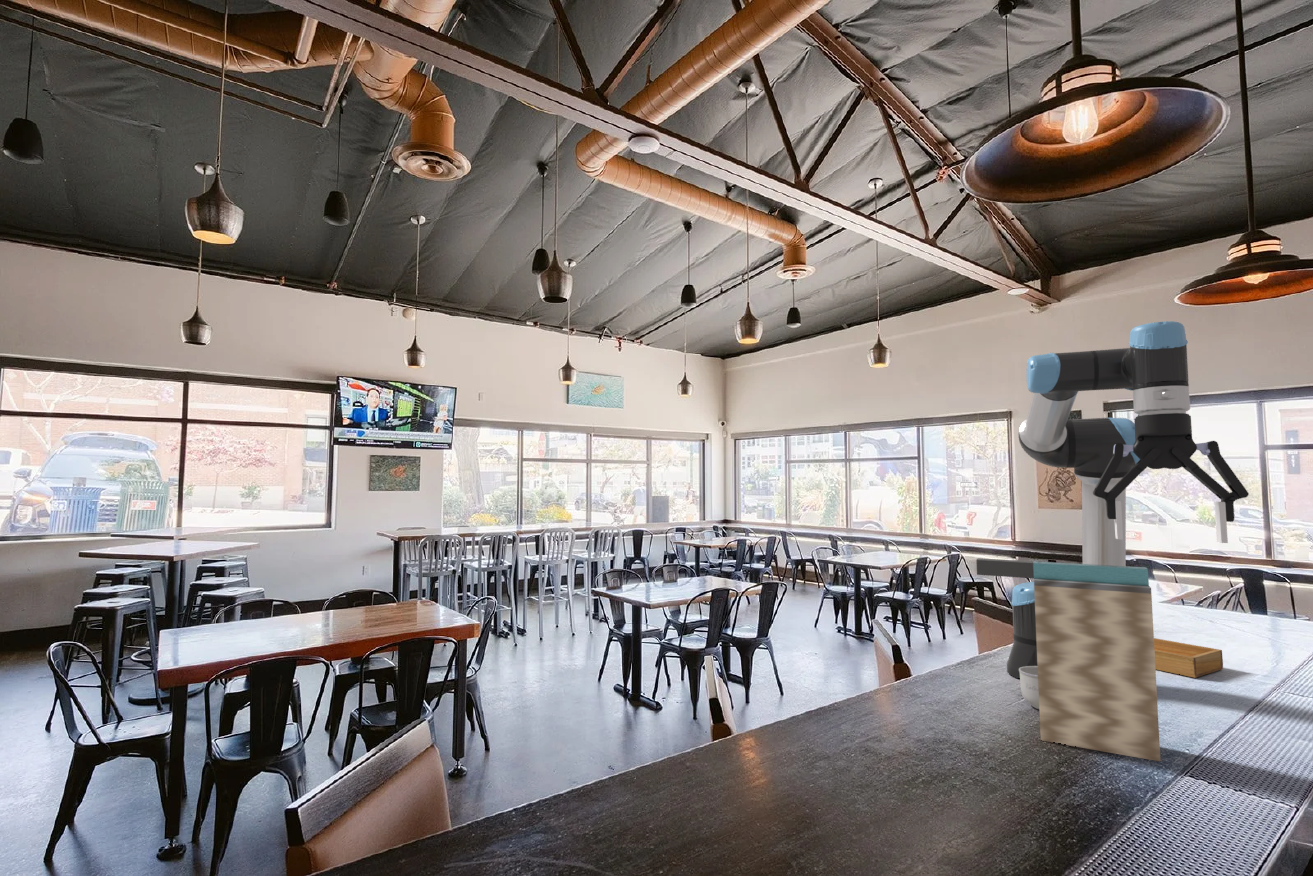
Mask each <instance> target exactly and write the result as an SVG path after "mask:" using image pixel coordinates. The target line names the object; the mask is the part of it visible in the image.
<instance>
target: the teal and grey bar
mask: <svg viewBox="0 0 1313 876" xmlns="http://www.w3.org/2000/svg"><path fill="white" fill-rule="evenodd" d="M976 575H977V576H990V577H991V576H992V577H1006V578H1008V577H1009V578H1019V579H1021V578H1023V579H1033V580H1034V579H1049V580H1065V581H1080V582H1095V583H1111V584H1126V585H1141V586H1150V582H1149V568H1147V567H1144V566H1143V567H1142V566H1141V567H1140V566H1129V565H1128V566H1110V565H1092V564H1083V563H1073V562H1072V563H1071V562H1070V563H1069V562H1054V561H1053V562H1052V561H1051V562H1050V561H1037V560H1036V561H1034V560H1033V561H1032V560H1031V561H1030V560H1014V559H1013V560H1012V559H998V558H997V559H996V558H994V559H993V558H981V557H980V558H976Z"/></svg>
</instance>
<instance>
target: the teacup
mask: <svg viewBox="0 0 1313 876" xmlns="http://www.w3.org/2000/svg"><path fill="white" fill-rule="evenodd" d="M1019 672H1020V679H1019V685H1020V692H1021V695H1022V697H1023V698H1024V700H1025V701H1026V702H1027V703H1028V704H1030V706H1031V707H1032V708H1035V709H1037V710H1039V689H1038V666H1025V667H1021V668H1019Z"/></svg>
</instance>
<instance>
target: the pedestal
mask: <svg viewBox="0 0 1313 876" xmlns="http://www.w3.org/2000/svg"><path fill="white" fill-rule="evenodd" d="M1033 582H1034V594H1035V618H1036V641H1037V665H1038V689H1039V709H1038V710H1039V712H1038V713H1039V730H1040V731H1039V734H1040V741H1041V740H1042V742H1047V743H1053V742H1055V743H1054V744H1058V743H1061V744H1060V745H1064V744H1066V745H1065V746H1071V747H1075V746H1076V747H1075V748H1081V749H1082V748H1083V749H1087V750H1094V751H1098V752H1103V753H1109V754H1110V753H1111V754H1117V755H1122V756H1127V757H1131V758H1132V757H1133V758H1138V759H1145V760H1150V761H1156V762H1161V761H1162V759H1161V746H1160V745H1161V743H1160V725H1159V724H1160V723H1159V709H1158V705H1159V704H1158V692H1157V690H1158V689H1157V688H1158V687H1157V671H1156V668H1155V650H1154V638H1155V634H1154V619H1153V618H1154V617H1153V597H1152V596H1153V595H1152V587H1150V585H1149V586H1141V585H1126V584H1111V583H1095V582H1080V581H1065V580H1049V579H1034V578H1033Z"/></svg>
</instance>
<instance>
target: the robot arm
mask: <svg viewBox="0 0 1313 876" xmlns="http://www.w3.org/2000/svg"><path fill="white" fill-rule="evenodd" d="M1186 335H1187V334H1186V329H1185V326H1184V324H1182V323H1181V322H1179V321H1174V320H1173V321H1171V320H1169V321H1167V320H1166V321H1157V322H1156V321H1155V322H1154V321H1153V322H1150V323H1149V322H1148V323H1144V324H1140V325H1137V326H1134V327H1133V328H1132V329H1131V330H1130V332H1129V342H1128V347H1123V348H1111V349H1110V348H1109V349H1100V350H1099V349H1098V350H1097V349H1096V350H1086V351H1084V350H1083V351H1072V352H1070V351H1069V352H1055V353H1054V352H1049V353H1045V354H1037V355H1031V356H1030V357H1029V358H1027V362H1026V386H1027V389H1028V391H1029V392H1031V393H1033V394H1032V397H1031V402H1030V406H1029V411H1028V414H1027V418H1025V419H1024V420H1023V421H1022V423H1021V425H1020V427H1019V430H1018V440H1019V444H1020V446H1021V448H1022V450H1023V451H1024V452H1025V453H1026V454H1027V455H1028V456H1029V457H1031V458H1032V459H1034V460H1035V461H1037V462H1038V463H1040V464H1043V465H1046V466H1049V467H1052V468H1061V469H1063V468H1065V469H1066V468H1067V469H1071V468H1072V469H1074V471H1073V472H1074V476H1075V477H1077V478H1078V479H1079V480H1080V481H1081V500H1082V501H1081V521H1082V522H1081V523H1082V527H1081V530H1082V533H1081V534H1082V535H1081V536H1082V539H1081V541H1082V542H1081V543H1082V554H1081V555H1082V564H1092V565H1110V566H1126V564H1127V563H1126V561H1127V559H1126V558H1127V557H1126V556H1127V555H1126V554H1127V553H1126V552H1127V551H1126V546H1127V545H1126V543H1127V542H1126V541H1127V540H1126V539H1127V535H1126V533H1127V531H1126V530H1127V528H1126V527H1127V523H1126V522H1127V517H1126V516H1127V513H1126V512H1127V510H1126V509H1127V506H1126V505H1127V502H1126V501H1127V497H1126V496H1127V495H1126V493H1127V490H1126V489H1127V488H1128V487H1129V486H1130V485H1131V484H1132V482H1134V481H1135V479H1136V478H1137V477H1138V476H1140V474H1142V472H1144V471H1145V469H1147V468H1149V469H1150V470H1151V469H1152V470H1160V469H1161V470H1162V469H1169V470H1178V469H1181V468H1183V469H1184V470H1185V471H1187V472H1189V473H1190V474H1191V475H1192V476H1193V477H1194V478H1195V479H1196V480H1198V481H1199V483H1201V484H1202V485H1204V487H1206V489H1208V490H1209V491H1210V492H1211V493H1213V494H1214V496H1216V497H1217V498H1218V499H1219V500H1220V501H1214V512H1215V513H1214V514H1215V515H1214V517H1215V530H1216V532H1215V533H1216V542H1217V543H1220V544H1228V543H1229V542H1228V539H1229V538H1228V527H1227V525H1228V524H1227V522H1229V523H1230V522H1232V523H1233V522H1234V520H1235V506H1234V503H1235V502H1236V501H1237V500H1241V499H1246V498H1247V497H1249V492H1248V490H1247V489H1246V487H1245V486H1244V485H1243V484H1242V482H1241V481H1240V480H1239V479H1240V478H1239V477H1237V475H1236V473H1235V472H1234V471H1233V469H1232V468H1231V467H1230V466H1229V464H1228V463H1227V461H1226V460H1225V458H1224V457H1223V455H1222V454H1221V451H1220V447H1219V443H1218V441H1216V440H1210V441H1207V442H1199V443H1195V441H1194V440H1193V429H1192V428H1193V427H1192V416H1191V415H1190V413H1187V412H1188V411H1190V409H1191V402H1190V401H1191V399H1190V386H1189V385H1190V384H1189V370H1188V369H1189V366H1188V365H1189V364H1188V348H1187V347H1188V346H1187V345H1188V343H1189V342H1188V340H1187V336H1186ZM1104 390H1127V391H1132V398H1133V399H1132V401H1133V413H1134V414H1136V415H1137V416H1135V418H1134V419H1133V420H1134V421H1133V420H1131V419H1130V418H1124V417H1095V418H1076V419H1069V417H1070V414H1071V411H1072V408H1073V406H1074V403H1075V401H1076V398H1077V396H1078V393H1079V392H1084V391H1087V392H1088V391H1104ZM1197 451H1199V452H1200V453H1201V455H1203V456H1207V459H1208V460H1209V462H1210V463H1211V465H1212V466H1213V467H1214V469H1215V470H1216V472H1218V474H1219V476H1220V477H1221V479H1222V480H1223V481H1224V483H1225V484H1226V485H1227V487H1228V488H1229V490H1230V492H1229V491H1228V490H1227V489H1225V487H1224V486H1222V485H1221V484H1220V483H1219V482H1218V481H1216V480H1215V479H1214V478H1213V477H1212V476H1211V475H1209V474H1208V473H1207V472H1206V471H1205V470H1204V469H1202V468H1201V467H1200V466H1199V464H1198V463H1196V462H1195V461H1194V460H1193V459H1192V457H1193V455H1194V454H1195V453H1196V452H1197ZM1011 596H1012V597H1011V598H1012V599H1011V602H1010V604H1011V606H1012V629H1013V633H1012V635H1013V643H1012V647H1011V650H1010V653H1009V655H1008V659H1007V662H1006V672H1007V674H1008V673H1009V674H1010V675H1009V674H1008V675H1009V676H1011V675H1012V677H1013V676H1014V677H1013V678H1015V677H1016V679H1018V678H1020V672H1019V668H1021V667H1025V666H1038V665H1037V641H1036V618H1035V594H1034V581H1029V582H1023V583H1019V584H1017V585H1015V586H1014V587H1013V588H1012V595H1011Z"/></svg>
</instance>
